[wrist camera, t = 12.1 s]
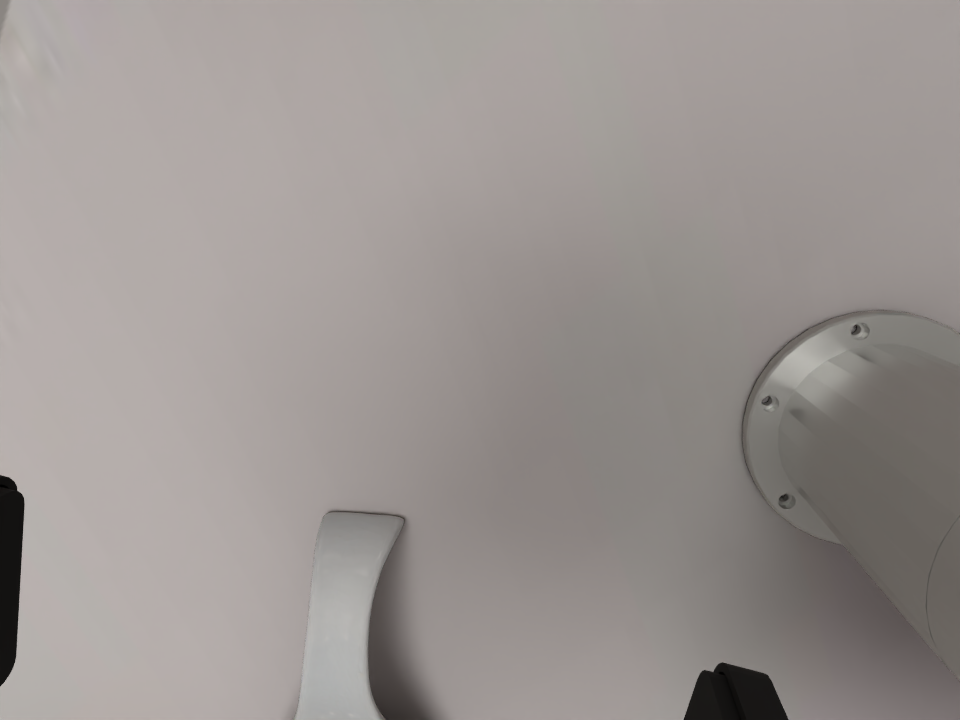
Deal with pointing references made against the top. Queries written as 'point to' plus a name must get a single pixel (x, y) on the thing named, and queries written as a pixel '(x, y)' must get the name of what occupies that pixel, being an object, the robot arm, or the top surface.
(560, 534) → the top surface
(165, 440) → the top surface
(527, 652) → the top surface
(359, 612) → the spoon rest
